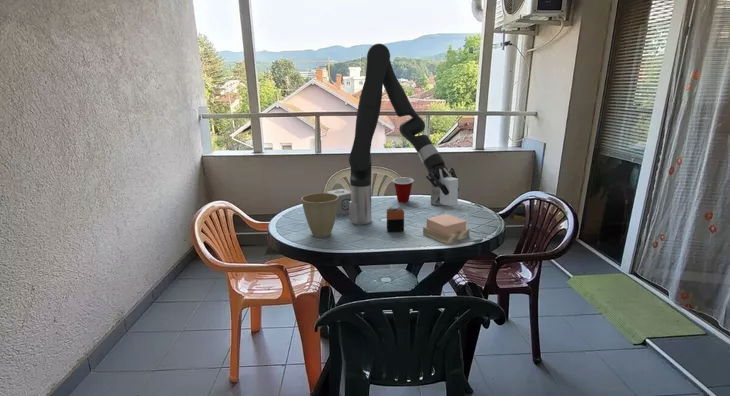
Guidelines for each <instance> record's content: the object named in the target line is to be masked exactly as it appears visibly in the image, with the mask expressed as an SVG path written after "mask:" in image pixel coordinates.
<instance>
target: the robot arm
mask: <svg viewBox="0 0 730 396" xmlns="http://www.w3.org/2000/svg"><path fill="white" fill-rule="evenodd" d="M383 87H384V88H383ZM383 89H384V90H385V92H386V94H387V96H388V99H389V102H390V104H391V105H392V108H393V110H394V112H395V114H396V116H397V117H398V118H402V117H405V116H410V117H411V118H409V119H407V120H405V121H404V122H402V123H400V125H399V133H400V134H401V135H402V137H403V138H404V139H406V140H407V142H409V143H410V144H411V145H412V146H413V148H414V149H415V151H416V153H417V154H418V156H419V159H420V161H421V162H422V164H423V165H424V167H425V169H426V170H427V175H426V176H425V177H426V179H427V180H428V181H429V182H430V183H432V184H433V186H434V187H439V188H440V189H441V190H442V192H443V193H444V194H445V195H448V194H449V191H448V189H447V187H446V186H445V185H444V182H443V180H442V179H443V178H445V177H453V178H457V179H458V176H457V173H456V172H455V169H454V168H453V167H451V168H448V167H447V166H446V165H445V164H446V163H445V160H444V159H443V157H442V155H441V154H440V152H439V150H437V148H436V147H435V145H434V144H433V142H432V140H431V139H430V138H429V136H428V135H426V134H420V133H422V132H424V131H425V128H426V125H425V121H424V120H423V118H422V117H421V116H420V115H419V114H418V112H416V110H415V109H414V108H413V106H412V104H411V103H410V100H409V97H408V95H407V94H406V92H405V90H404V88H403V86H402V85H401V83H400V81H399V79H398V78H397V76H396V74H395V71H394V68H393V66H392V62H391V53H390V49H389V48H388V47H387V46H386V45H385V44H383V43H379V42H377V43H375V44H373V45H371V46H370V47H369V49H368V51H367V53H366V67H365V77H364V83H363V86H362V89H361V93H360V95H359V99H358V100H359V101H358V105H357V112H356V119H355V131H354V132H355V133H354V140H353V143H352V147H351V150H350V154H349V156H348V163H349V165H350V166H349V167H350V177H349V182H350V183H349V184H350V186H349V187H350V190H349V191H351V201H349V214H348V216H349V218H348V219H349V220H348V221H349V222H350V223H353V224H354V225H356V226H358V225H368V224H370V223H372V220H373V219H372V155H371V150H372V149H371V148H372V141H373V139H374V134H375V131H376V129H377V125H378V122H379V118H380V113H381V107H382V100H383V99H382V98H383ZM418 134H420V135H418ZM434 181H435V182H436V183H435V182H434ZM459 191H460V189H459V187H458V192H459Z"/></svg>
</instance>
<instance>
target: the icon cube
mask: <svg viewBox="0 0 730 396" xmlns="http://www.w3.org/2000/svg"><path fill="white" fill-rule="evenodd" d="M324 193H331V194H335V195H337V196H338V197H339V198H338V207H337V213H336V217H341V216H340V215H342V216H345V215H349V201H351V191H350V190H348V189H345V188H338V189H333V190H330V191H329V190H328V191H325V192H324Z"/></svg>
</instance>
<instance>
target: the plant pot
mask: <svg viewBox="0 0 730 396" xmlns="http://www.w3.org/2000/svg"><path fill="white" fill-rule="evenodd" d="M338 198H339V197H338V196H337V195H335V194H331V193H325V192H318V193H317V192H315V193H309V194H307V195H304V196H302V197H301V204H302V208H303V212H304V213H303V214H304V216H305V219H306V221H307V224H308V227H309V229H310V232H311V234H312V236H313V237H315V238H327V237H329V236H331V234H332V231H333V228H334V225H335V222H336V217H337V216H336V213H337V207H338Z"/></svg>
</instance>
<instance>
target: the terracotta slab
mask: <svg viewBox="0 0 730 396" xmlns="http://www.w3.org/2000/svg"><path fill="white" fill-rule="evenodd" d="M426 226H427V227H428V228H431V229H433V230H435V231H437V232H440V233H442V234H444V235H447V234H451V233H454V232H458V231H462V230H465V229H466V228H467V220H463V219H461V218H459V217H456V216H453V215H451V214H449V213H444V214H441V215H436V216H432V217H427V218H426Z"/></svg>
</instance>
